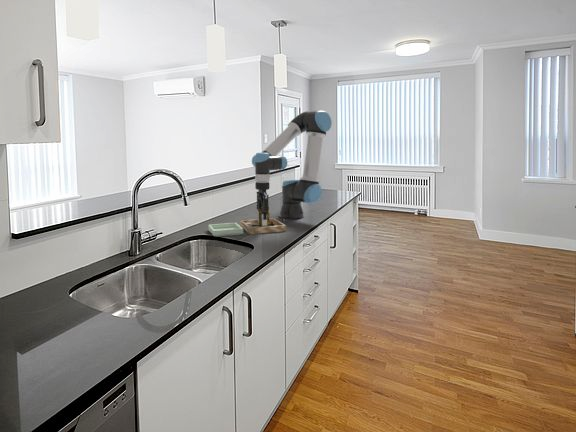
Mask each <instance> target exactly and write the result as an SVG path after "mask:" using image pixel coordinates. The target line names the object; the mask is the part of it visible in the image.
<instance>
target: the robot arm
mask: <svg viewBox="0 0 576 432" xmlns="http://www.w3.org/2000/svg"><path fill="white" fill-rule="evenodd" d="M332 122H333V121H332V118H331V116H330V114H329V113H328V112H327V111H325V110H313V111H312V110H311V111H303V112H301V113H299V114H298V115H296V116H295V117H294V118H292V120H290V122H288V124H287V127H286V128H285V129H284V130H283V131H282V132H280V134H279V135H278V136H277V137H276V138H275V139H274V140H273V141H271V143H270V144H269V145H267V147H266V148H265V149H264V150H262V151H261V152H256V153H255V155H253V156H252V158H251V164H252V166H253V167H254V169H255V170H254V171H255V176H254V178H255V183H254V184H255V189H256V210H257V219H258V223H259V207H260V206H262V213H261V214H262V226H265V225H267V213H269V212H270V207H269V194H268V193H267V190H270V181H271V180H270V179H271V178H270V171H282V170H285V169H286V168H287V166H288V159H287V157H286V156H285V155H280V153H282V152H283V150H284V149H285V148H286V147H288V145H289V144H290V143H291V142H293V140H294V139H295V138H296V137H299V136H301V134H303V133H306V135H307V145H306V151H305V157H304V165H303V173H302V176H301V177H300V178H298V179H287V180H283V182H282V186H281V191H282V192H281V194H282V196H281V197H282V201H281V203H282V204H281V207H280V210H279V212H278V213H279V217H280V218H283V219H288V220H289V219H293V220H294V219H302V218H304V215H305V214H304V211H303V206H302V203H305V204H315V203H317V202H318V201H320V199H321V196H322V193H323V189H322V186H321V185H320V181H319V179H318V175H319V174H318V173H319V168H320V167H319V166H320V160H321V153H322V146H323V138H324V137H326V135H327V132H328V131H330V129H331V127H332ZM257 190H258V191H257ZM268 207H269V208H268Z"/></svg>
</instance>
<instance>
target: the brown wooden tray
mask: <svg viewBox="0 0 576 432" xmlns="http://www.w3.org/2000/svg"><path fill="white" fill-rule="evenodd" d="M248 222H250V223H252V226H254V227H255V228H253V227H250V226H248V225H247V224H246V223H248ZM271 225H272V226H271ZM275 225H278V226H275ZM239 226H241V227H242V228H243V230H245V231H246V232H247V233H248V234H249V235H253V234H265V233H278V232H286V231H287V224H284V223H283V222H281V221H279V220H278V219H276V218H274V217H272V218H270V226H268V227H259V223H258V218H257V219H256V218H255V219H246V220H244V219H243V220H240V221H239Z"/></svg>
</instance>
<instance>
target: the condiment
mask: <svg viewBox="0 0 576 432" xmlns="http://www.w3.org/2000/svg"><path fill="white" fill-rule="evenodd" d="M268 208H269V209H270V207H269V206H268ZM261 213H262V206H260V207H259V225H258V227H268V226H271V224H270V215H271V214H270V211H269V213H267V225H265V226H262V214H261ZM255 227H256V226H254V227H253V226H252V228H255Z"/></svg>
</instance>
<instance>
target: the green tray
mask: <svg viewBox="0 0 576 432" xmlns="http://www.w3.org/2000/svg"><path fill="white" fill-rule="evenodd" d="M208 231H209V233H210V234H211V233H212V234H211V235H212V236H213V237H214V238H215V237H216V238H217V237H223V236H224V237H225V236H227V237H228V236H240V235H244V229H243V228H242V227H241V226H240V224H238V223H237V222H226V223H224V222H223V223H213V224H211V223H210V224H208Z"/></svg>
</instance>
